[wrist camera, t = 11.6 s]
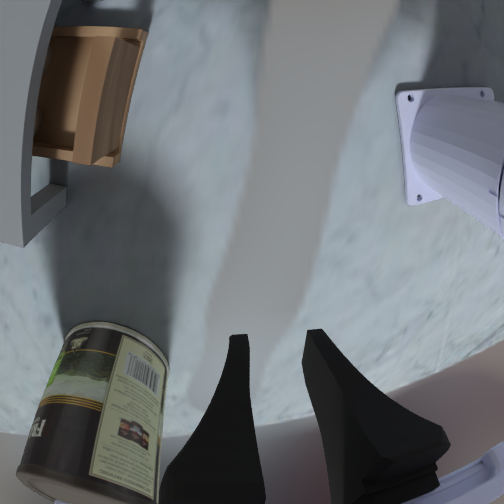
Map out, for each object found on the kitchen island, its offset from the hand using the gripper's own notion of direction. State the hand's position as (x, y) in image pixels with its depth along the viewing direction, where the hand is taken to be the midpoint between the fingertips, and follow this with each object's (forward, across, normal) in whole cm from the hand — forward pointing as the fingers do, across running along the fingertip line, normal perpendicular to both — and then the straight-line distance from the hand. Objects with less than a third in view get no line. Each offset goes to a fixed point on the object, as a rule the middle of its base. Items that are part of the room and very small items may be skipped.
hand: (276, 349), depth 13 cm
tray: (+10, +12, -11) cm, 19 cm away
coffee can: (+10, +12, +12) cm, 20 cm away
